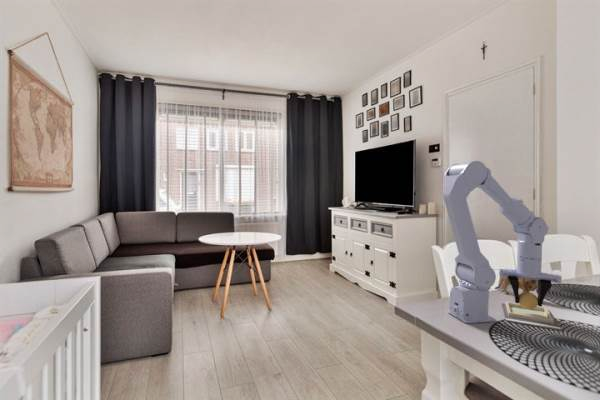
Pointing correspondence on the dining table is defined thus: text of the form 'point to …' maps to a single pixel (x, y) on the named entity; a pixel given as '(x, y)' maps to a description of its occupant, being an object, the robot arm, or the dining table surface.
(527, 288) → the lion figurine
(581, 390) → the dining table surface
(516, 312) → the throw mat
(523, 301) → the ball
